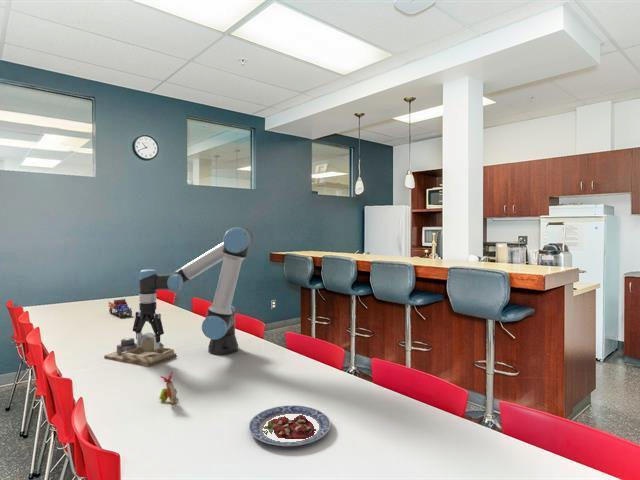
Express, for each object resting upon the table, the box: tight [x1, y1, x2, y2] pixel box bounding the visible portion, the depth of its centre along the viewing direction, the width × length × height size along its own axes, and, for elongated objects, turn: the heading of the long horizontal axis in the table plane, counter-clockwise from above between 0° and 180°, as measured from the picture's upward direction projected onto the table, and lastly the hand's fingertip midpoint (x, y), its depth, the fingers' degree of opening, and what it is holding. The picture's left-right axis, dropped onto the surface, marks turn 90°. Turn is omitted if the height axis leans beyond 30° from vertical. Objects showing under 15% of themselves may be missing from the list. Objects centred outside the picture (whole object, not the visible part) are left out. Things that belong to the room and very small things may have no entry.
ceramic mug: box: [140, 332, 165, 352], centre depth 197 cm, size 11×8×8 cm
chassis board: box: [103, 342, 177, 368], centre depth 198 cm, size 29×17×5 cm, turn 67°
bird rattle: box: [158, 371, 178, 405], centre depth 148 cm, size 6×11×9 cm
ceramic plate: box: [248, 405, 332, 447], centre depth 129 cm, size 26×26×3 cm
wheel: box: [120, 337, 135, 346], centre depth 201 cm, size 6×6×6 cm
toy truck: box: [108, 298, 133, 319], centre depth 290 cm, size 8×25×11 cm, turn 46°
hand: (148, 347), depth 196 cm, fingers closed on ceramic mug, 10 cm apart
